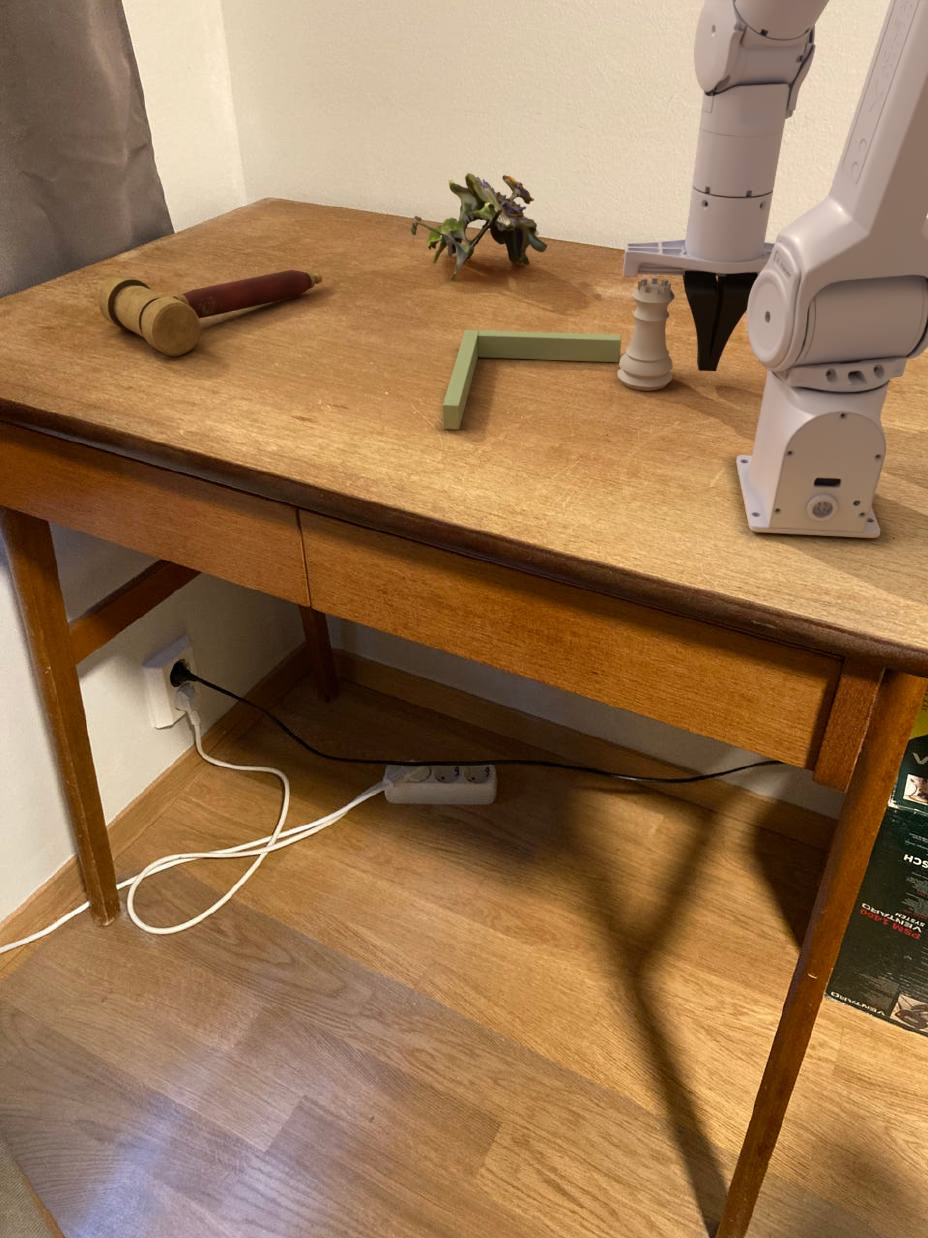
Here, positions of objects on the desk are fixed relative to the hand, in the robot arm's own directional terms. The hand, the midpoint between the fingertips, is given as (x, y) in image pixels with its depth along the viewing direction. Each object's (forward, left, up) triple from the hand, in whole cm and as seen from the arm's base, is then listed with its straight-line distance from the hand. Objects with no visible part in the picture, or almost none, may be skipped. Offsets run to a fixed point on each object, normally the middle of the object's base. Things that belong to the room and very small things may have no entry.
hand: (706, 366), depth 80 cm
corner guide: (-3, +13, -1) cm, 14 cm away
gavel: (+11, +43, -2) cm, 44 cm away
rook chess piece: (0, +5, -2) cm, 5 cm away
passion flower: (+25, +21, -2) cm, 33 cm away
